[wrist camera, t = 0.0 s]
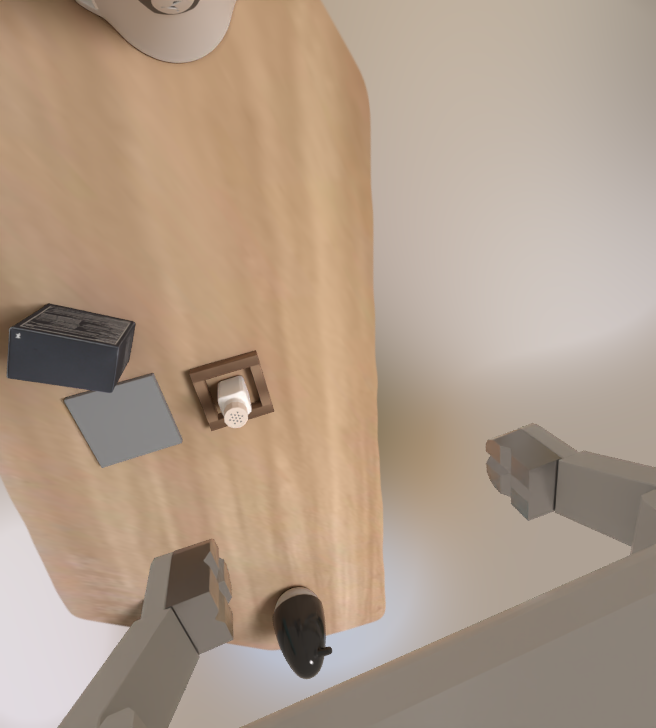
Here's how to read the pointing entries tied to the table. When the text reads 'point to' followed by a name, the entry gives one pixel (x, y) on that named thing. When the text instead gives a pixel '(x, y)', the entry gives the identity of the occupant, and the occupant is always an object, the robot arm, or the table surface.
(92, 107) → the table surface
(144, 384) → the mat
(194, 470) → the table surface
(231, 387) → the pepper shaker
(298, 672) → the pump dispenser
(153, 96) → the table surface
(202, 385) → the collar
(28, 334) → the small box
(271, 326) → the table surface
